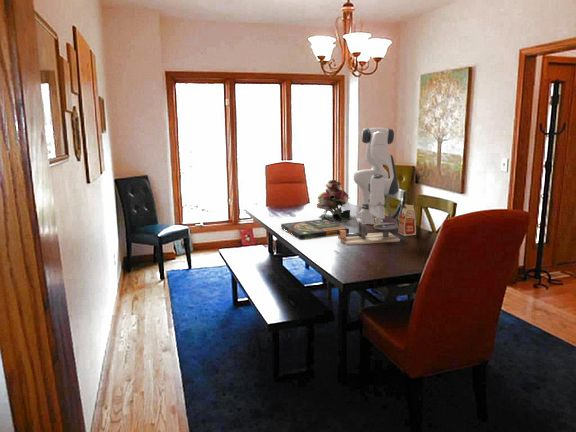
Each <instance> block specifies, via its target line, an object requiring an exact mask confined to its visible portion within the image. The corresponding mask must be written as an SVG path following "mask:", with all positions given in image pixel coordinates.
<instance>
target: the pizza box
mask: <svg viewBox="0 0 576 432" xmlns="http://www.w3.org/2000/svg"><path fill="white" fill-rule="evenodd" d="M280 226H281V227H282V228H284V229H285V230H287V231H288V232H287V231H286V232H287V233H289V232H290V233H289V234H291V233H292V234H293V236H294V235H295V236H294V237H296V238H297V237H298V238H297V239H299V238H300V239H299V240H304V239H305V238H306V239H312V238H321V237H330V236H338V235H339V230H345V231H346V233H350V229H349V228H348V227H345V226H343V225H342V224H338V223H336V222H335V221H329V220H327V219H321V218H320V219H313V220H303V221H297V222H296V221H295V222H286V223H280ZM281 227H280V228H281ZM282 228H281V229H282ZM284 229H283V230H284ZM285 230H284V231H285ZM292 234H291V235H292Z"/></svg>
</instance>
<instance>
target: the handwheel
mask: <svg viewBox="0 0 576 432" xmlns="http://www.w3.org/2000/svg"><path fill="white" fill-rule="evenodd" d="M373 228H374V229H377V230H381V231H383V230H389V231H392V230H393V231H394V230H398V228H399V224H397V223H396V222H381V223H380V225H378V224H377V218H375V224H373Z"/></svg>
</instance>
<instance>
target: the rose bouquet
mask: <svg viewBox="0 0 576 432" xmlns="http://www.w3.org/2000/svg"><path fill="white" fill-rule="evenodd" d="M325 186H326V189H325V191H323V192H321V193H320V194H319V195H318V196H317V200H318V202H317V204H316V207H317V209H322V210H324V211H323V214H321V215H320V216H319V218H320V220H321V219H327V220H329V221H332V222H338V219H337V218H340V219H342V220H340V222H345V223H349V222H350V220H351V219H350V217H351V210H350V209H346V210H342V207H343V208H346V207H345V205H346V204H347V203H348V201H349V200H348V199H349V194H348V193H347V192H346V191H345V190H343V187H342V182H339V181H338V180H337V179H331V180H328V181H327V183H326V184H325ZM339 206H340V207H339ZM327 212H330V213H331V214H328V213H327ZM336 219H337V220H336Z"/></svg>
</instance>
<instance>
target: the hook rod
mask: <svg viewBox="0 0 576 432" xmlns="http://www.w3.org/2000/svg"><path fill="white" fill-rule="evenodd" d="M367 234H368V232H367V231H366V236H367ZM338 235H339V238H340V239H346V237H355V236H362V233H359V232H351V233H350V232H349V233H346V231H345V230H339V234H338ZM339 238H338V239H339ZM340 239H339V240H340Z"/></svg>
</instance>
